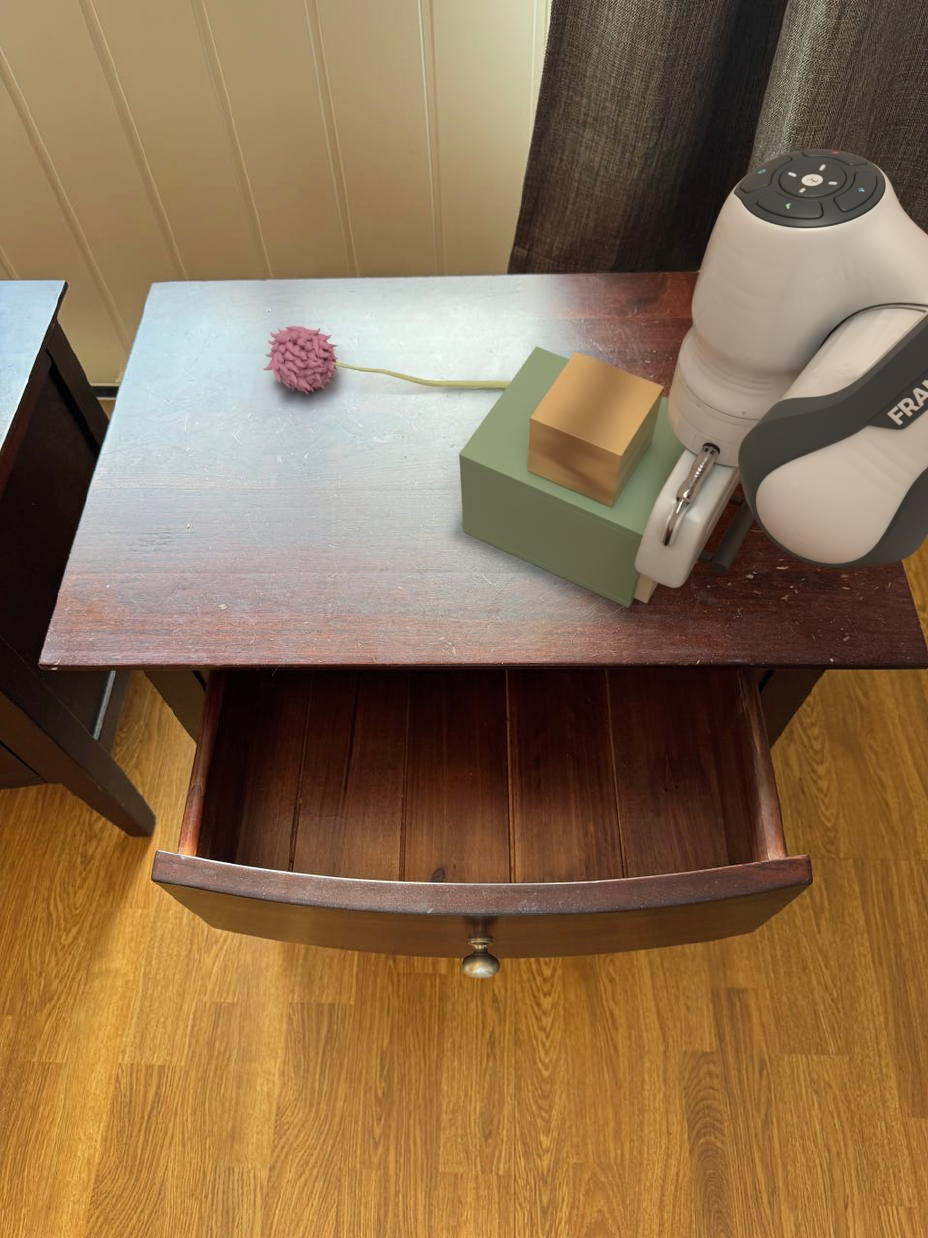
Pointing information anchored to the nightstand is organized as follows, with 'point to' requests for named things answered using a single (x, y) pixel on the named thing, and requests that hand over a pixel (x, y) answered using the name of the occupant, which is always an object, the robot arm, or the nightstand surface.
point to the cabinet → (557, 493)
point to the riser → (593, 428)
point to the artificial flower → (329, 362)
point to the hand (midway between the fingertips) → (697, 520)
